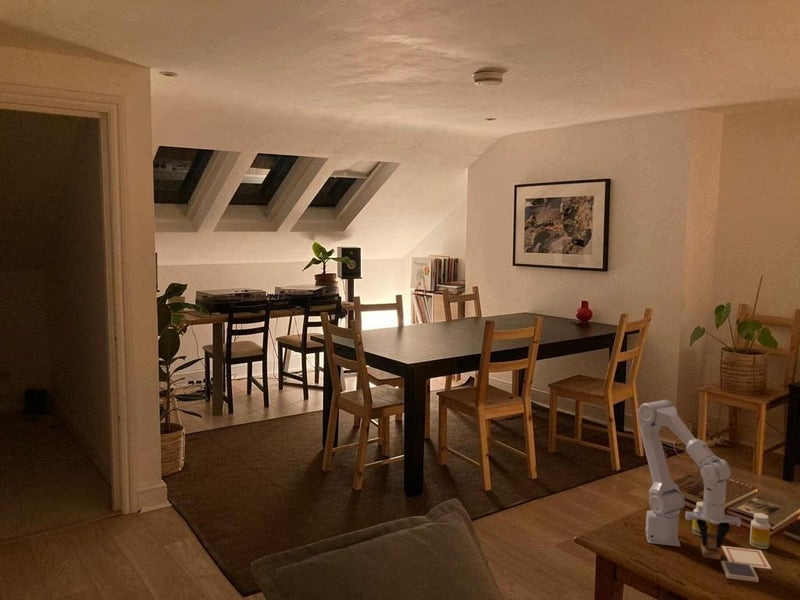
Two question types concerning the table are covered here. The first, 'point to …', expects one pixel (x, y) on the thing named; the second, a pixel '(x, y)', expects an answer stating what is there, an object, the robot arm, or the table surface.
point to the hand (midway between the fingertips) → (710, 545)
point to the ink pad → (739, 571)
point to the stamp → (711, 547)
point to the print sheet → (746, 557)
